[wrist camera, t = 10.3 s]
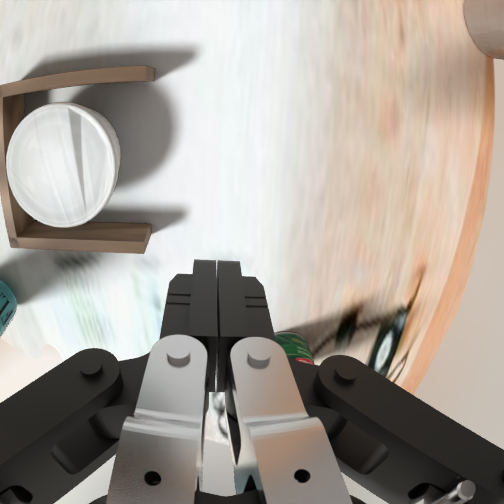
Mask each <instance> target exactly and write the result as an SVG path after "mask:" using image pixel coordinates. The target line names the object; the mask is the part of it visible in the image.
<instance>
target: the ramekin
mask: <svg viewBox="0 0 504 504" xmlns="http://www.w3.org/2000/svg"><path fill="white" fill-rule="evenodd" d="M120 160H121V151H120V144H119V139H118V137H117V134H116V132H115V131H114V128H113V127H112V126H111V125H110V123H109V122H108V121H107V120H106V118H105V117H103V116H102V115H101V114H100V113H98V112H97V111H95V110H92V109H90V108H87V107H84V106H81V105H79V104H75V103H70V102H55V103H50V104H47V105H44V106H42V107H39V108H37V109H36V110H34V111H32V112H31V113H30V114H29V115H27V116H26V117H25V118H24V119H23V120H22V121H21V123H20V124H19V125H18V127H17V128H16V129H15V131H14V133H13V135H12V138H11V140H10V143H9V146H8V151H7V156H6V168H7V176H8V181H9V184H10V187H11V190H12V192H13V195H14V197H15V198H16V200H17V202H18V203H19V205H20V206H21V207H22V208H23V209H24V210H25V211H26V212H27V213H28V214H29V215H30V216H32V217H33V218H34V219H36V220H38V221H40V222H42V223H44V224H47V225H50V226H54V227H73V226H78V225H81V224H84V223H86V222H87V221H89V220H91V219H92V218H93V217H95V216H96V215H97V214H98V213H99V212H100V211H101V210H102V209H103V208H104V207H105V205H106V204H107V202H108V201H109V199H110V198H111V196H112V194H113V191H114V189H115V186H116V182H117V178H118V170H119V167H120Z"/></svg>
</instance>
